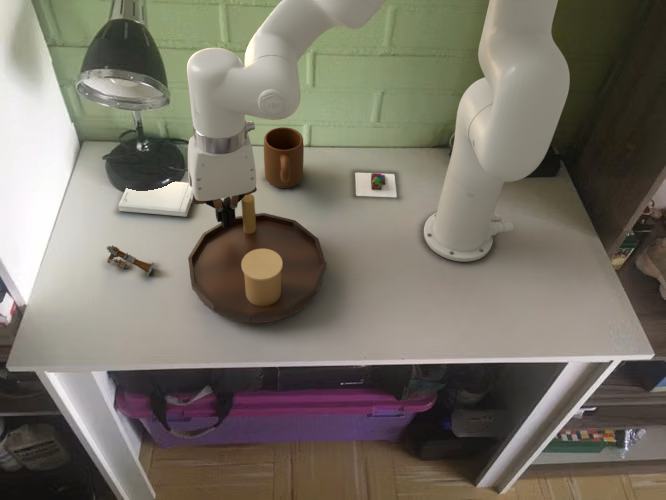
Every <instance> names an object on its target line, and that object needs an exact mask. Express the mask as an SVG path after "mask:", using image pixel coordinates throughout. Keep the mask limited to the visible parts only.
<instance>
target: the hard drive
mask: <svg viewBox="0 0 666 500" xmlns="http://www.w3.org/2000/svg"><path fill="white" fill-rule="evenodd" d="M191 191H192V187H191V186H190V183H189V182H186V181H185V182H184V181H175V182H172V183H170V184H168V185H167V186H164V187H162V188H158V189H154V190H148V191H136V190H132V189H128V188H125V190H124V191H123V193H122V196H121V198H120V201H119V202H118V206H117V207H118V211H119V212H127V213H139V214H150V215H151V214H152V215H161V216H174V217H188V214H189V212H190V208H191V204H193V203H192V201H191V198H190V196H191Z"/></svg>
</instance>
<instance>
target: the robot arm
mask: <svg viewBox="0 0 666 500" xmlns="http://www.w3.org/2000/svg"><path fill="white" fill-rule="evenodd" d="M386 2H387V0H281V1H280V2H279V3H278V4H277V5H276V6H275V7H274V8H273V10H272V11H271V12H270V13H269V15H268V16H267V17H266V18H265V20H264V21H263V23H262V24H261V25H260V26H259V27H258V29H257V30H256V31H255V33H254V35H253V36H252V38H251V39H250V41H249V43H248V45H247V47H246V50H245V53H244V63H243V62H242V60H241V59H240V57H239V56H238V55H237V54H236V53H234V52H233V51H231V50H229V49H226V48H221V47H207V48H203V49H199V50H198V51H196V52H194V53H193V54H192V55H191V56H190V58H189V59H188V61H187V64H186V74H187V83H188V84H187V85H188V93H189V103H190V110H191V121H192V130H193V136H190V138H189V140H188V147H187V176H188V183H190V186H191V187H192V191H191V196H190V198H191V201H192V203H191V204H193V205H204V204H205V205H207V206H209V207H211V208H213V209H215V210H214V211H215V218H216V221H217V223H222V226H223V228H227V227H233V219H235V217H236V209H237V208H238V206H239V203H240V202H241V200H242V199H243V198H244V196H245V195H249V194H253V193H256V192H257V191H258V188H257V171H256V163H255V157H254V151H253V145H252V142H251V139H250V135H249V132H251V131H254V130H255V129H256V125H255V122H254V120H251V121H249V120H246V116H250V117H253V118H257V119H263V120H271V121H279V120H285V119H287V118H289V117H291V116H292V115H293V114H294V113H295V112H296V111H297V110H298V108H299V106H300V102H301V85H300V77H299V69H298V67H299V66H298V62H299V60H300V59H301V58H302V57H303V55H304V54H305V53H306V52H307V50H309V48H310V47H311V46H312V45H313V44H314V43H315V42H316V41H317V40H318V38H320V36H322V35H323V34H325V33H326V32H328V31H329V30H331V29H333V28H337V27H344V28H346V29H350V30H358V29H361V28H363V27H364V26H366V24H368V22H369V21H370V20H371V19H372V18H373V16H374V15H375V14H376V13H377V12H378V11H379V10H380V9H381V7H382V6H383V5H384V4H385V3H386ZM558 2H559V0H489V2H488V4H487V5H488V7H487V10H486V11H487V12H486V14H485V18H484V22H483V23H484V24H483V28H482V33H481V37H480V40H479V45H478V50H477V57H478V63H479V67H480V69H481V71H482V73H483V76H484V77H482V78H479V79H477V80H475V81H474V82H473V83H472V84H470V86H468V87H467V89H466V90H465V91H464V93H463V95H462V96H461V98H460V101H459V104H458V107H457V112H456V120H455V129H454V139H453V145H452V149H451V150H452V151H451V155H450V159H449V163H448V165H447V169H446V173H445V178H444V182H443V186H442V189H441V193H440V198H439V202H438V206H437V209H436V212H434V213H432V214H431V215H430V216H429V217H428V218H427V220H426V221H425V224H424V227H423V238H424V240H425V242H426V244H427V246H428V247H429V248H430V249H431V250H432V251H433V252H435V253H436V254H437V255H439V256H441V257H443V258H445V259H447V260H450V261H454V262H464V263H467V262H473V261H474V262H475V261H477V260H480V259H482V258H484V257H485V256H486V255H487V254H488V253H489V252H490V250H491V248H492V245H493V242H494V236H496V235H497V234H500V233H501V234H506V233H508V234H509V233H513V231H514V224H513V221H505V222H503V221H502V219H503V218H502V215H501V214H499V213H498V214H494V213H495V210H496V208H497V204H498V202H499V199H500V196H501V193H502V190H503V188H504V185H505V183H514V182H517V181H520V180H523V179H524V178H526V177H528V176H530V175H531V174H532V173H534V171H535V170H537V169H538V167H539V166H540V165H541V163H542V161H544V159H545V157H546V155H547V152H548V151H549V148H550V146H551V143H552V140H553V138H554V135H555V132H556V130H557V127H558V124H559V121H560V118H561V116H562V113H563V110H564V107H565V105H566V101H567V99H568V95H569V92H570V91H569V90H570V81H571V79H570V77H571V76H570V69H569V65H568V62H567V59H566V57H565V55H563V53H562V52H561V50H560V48H559V47H558V46H557V44H556V42H555V41H554V39H553V34H552V28H553V22H554V18H555V15H556V10H557V6H558Z"/></svg>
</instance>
